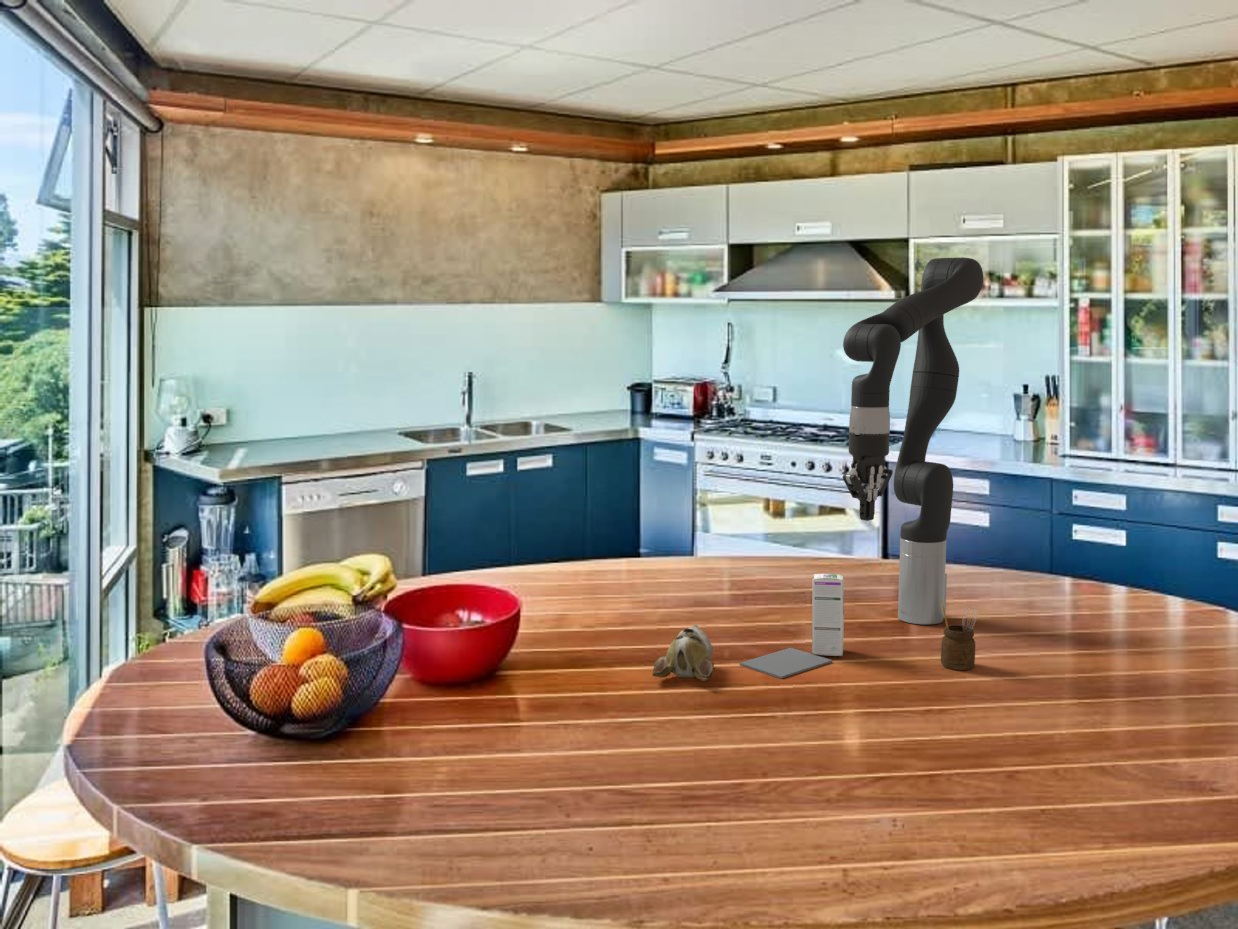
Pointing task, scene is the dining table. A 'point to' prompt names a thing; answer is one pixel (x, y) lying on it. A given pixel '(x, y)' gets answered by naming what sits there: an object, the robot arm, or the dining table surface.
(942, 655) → the utensil holder
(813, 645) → the syrup box
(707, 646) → the ceramic sculpture
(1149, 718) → the dining table surface
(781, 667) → the mat
